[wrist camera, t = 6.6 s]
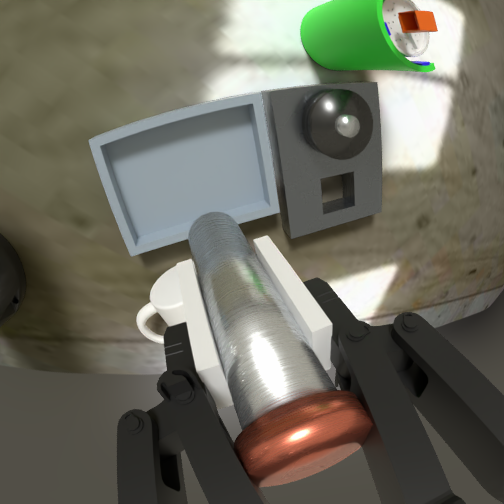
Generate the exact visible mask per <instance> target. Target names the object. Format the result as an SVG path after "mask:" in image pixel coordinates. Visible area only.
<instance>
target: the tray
mask: <svg viewBox="0 0 504 504" xmlns="http://www.w3.org/2000/svg"><path fill="white" fill-rule="evenodd" d="M88 141H89V144H90V147H91V151H92V154H93V157H94V160H95V163H96V166H97V169H98V172H99V175H100V178H101V181H102V184H103V187H104V189H105V192H106V195H107V198H108V200H109V203H110V206H111V209H112V211H113V214H114V216H115V219H116V221H117V224H118V226H119V229H120V231H121V234H122V236H123V239H124V241H125V244H126V246H127V248H128V251H129V253H130V255H131V256H134V255H137V254H141V253H144V252H147V251H150V250H153V249H157V248H160V247H163V246H166V245H170V244H173V243H176V242H179V241H183V240H186V239H188V234H189V230H190V227H191V225H192V224H193V222H194V221H195V220H196V219H197V218H199V217H200V216H202V215H203V214H206V213H209V212H223V213H226V214H228V215H230V216H231V217H232V218H233V219H234V220H235V221H236V223H237V224H240V223H244V222H247V221H251V220H254V219H258V218H261V217H265V216H269V215H272V214H276V213H279V212H280V210H279V203H278V196H277V189H276V183H275V176H274V170H273V163H272V157H271V151H270V144H269V138H268V132H267V126H266V120H265V114H264V109H263V103H262V97H261V93H248V94H242V95H237V96H232V97H227V98H222V99H217V100H213V101H208V102H204V103H200V104H196V105H192V106H188V107H184V108H180V109H176V110H173V111H169V112H166V113H162V114H159V115H156V116H152V117H149V118H146V119H143V120H140V121H136V122H133V123H130V124H128V125H125V126H122V127H119V128H116V129H113V130H111V131H108V132H105V133H103V134H100V135H97V136H95V137H93V138H92V139H90V140H88Z"/></svg>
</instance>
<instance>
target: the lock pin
mask: <svg viewBox="0 0 504 504" xmlns="http://www.w3.org/2000/svg"><path fill="white" fill-rule="evenodd" d="M188 240H189V244H190V249H191V253H192V257H193V261H194V265H195V269H196V273H197V277H198V281H199V285H200V288H201V292H202V296H203V300H204V304H205V308H206V311H207V315H208V319H209V322H210V326H211V329H212V333H213V337H214V340H215V344H216V347H217V350H218V354H219V357H220V361H221V364H222V367H223V371H224V374H225V377H226V380H227V385H228V388H229V391H230V394H231V397H232V400H233V404H234V407H235V410H236V413H237V416H238V419H239V422H240V425H241V428H242V432H241V433H240V434H239V435H238V437H237V438H236V440H235V442H234V449H235V451H236V453H237V456H238V457H239V459H240V461H241V463H242V465H243V467H244V469H245V471H246V473H247V475H248V476H249V477H250V478H251V480H252V481H253V482H254V483H255V484H256V485H257V486H258V487H267V486H274V485H280V484H285V483H289V482H293V481H296V480H299V479H302V478H305V477H308V476H311V475H313V474H315V473H318V472H320V471H322V470H325V469H327V468H329V467H331V466H332V465H334V464H336V463H338V462H340V461H342V460H343V459H345V458H346V457H348V456H349V455H351V454H352V453H354V452H355V451H357V450H358V449H359V448H360V447H362V446H363V445H364V442H365V440H366V438H367V436H368V434H369V432H370V430H371V427H372V425H373V424H372V422H371V420H370V418H369V416H368V414H367V413H366V411H365V409H364V408H363V406H362V404H361V403H360V401H359V400H358V398H357V396H356V395H355V394H354V393H353V392H350V391H345V390H337V389H336V388H335V386H334V384H333V383H332V381H331V379H330V378H329V376H328V374H327V373H326V371H325V369H324V367H323V366H322V364H321V362H320V361H319V359H318V357H317V356H316V354H315V352H314V351H313V349H312V347H311V346H310V344H309V342H308V341H307V339H306V337H305V336H304V334H303V332H302V331H301V329H300V327H299V326H298V324H297V322H296V321H295V319H294V317H293V316H292V314H291V312H290V311H289V309H288V307H287V306H286V304H285V302H284V301H283V299H282V297H281V296H280V294H279V292H278V291H277V289H276V287H275V286H274V284H273V282H272V281H271V279H270V277H269V276H268V274H267V272H266V271H265V269H264V268H263V266H262V264H261V263H260V261H259V259H258V258H257V256H256V254H255V253H254V251H253V249H252V248H251V246H250V244H249V243H248V241H247V239H246V238H245V236H244V234H243V233H242V231H241V229H240V228H239V226H238V224H237V223H236V221H235V220H234V219H233V218H232V217H231V216H230V215H228V214H226V213H223V212H209V213H206V214H203V215H202V216H200V217H199V218H197V219H196V220H195V221H194V222H193V224H192V225H191V227H190V230H189V234H188Z"/></svg>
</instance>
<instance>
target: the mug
mask: <svg viewBox="0 0 504 504" xmlns="http://www.w3.org/2000/svg"><path fill="white" fill-rule="evenodd" d="M193 265H194V262H193ZM194 268H195V265H194ZM195 271H196V269H195ZM196 274H197V273H196ZM150 301H151V302H150V303H148V304H147V305H145V306H144V307H143V308H142V309H141V310H140V311H139V313H138V315H137V325H138V328H139V330H140V331H141V332H142V334H143V335H144V336H146V337H147V338H148V339H150V340H152V341H154V342H157V343H161V344H164V339H163V337H164V336H161V335H158V334H156V333H154V332H152V331H151V330H150V329H149V328H148V327H147V326H146V324H145V323H146V321H147V319H148V318H149V317H150V316H152V315H153V314H155V313H157V312H158V313H159V314H160V315H161V317H162V318H163V319H164V321H165V322H166V323H167V324H168V326H169V327H170V326H173V325H176V324H180V323H183V322H186V317H185V312H184V306H183V300H182V294H181V288H180V282H179V276H178V269H177V266H175V267H173V268H171V269H169V270H168V271H166V272H165V273H164V274H163V275H162V276H160V277H159V279H158V280H157V281H156V282H155V284H154V285H153V287H152V289H151V292H150Z"/></svg>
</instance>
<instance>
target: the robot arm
mask: <svg viewBox="0 0 504 504" xmlns="http://www.w3.org/2000/svg"><path fill="white" fill-rule="evenodd" d="M253 241H254V246H255V251H256V256H257V258H258V259H259V261H260V263H261V264H262V266H263V268H264V269H265V271H266V272H267V274H268V276H269V277H270V279H271V281H272V282H273V284H274V286H275V287H276V289H277V291H278V292H279V294H280V296H281V297H282V299H283V301H284V302H285V304H286V306H287V307H288V309H289V311H290V312H291V314H292V316H293V317H294V319H295V321H296V322H297V324H298V326H299V327H300V329H301V331H302V332H303V334H304V336H305V337H306V339H307V341H308V342H309V344H310V346H311V347H312V349H313V351H314V352H315V354H316V356H317V357H318V359H319V361H320V362H321V364H322V366H323V367H324V369H325V371H326V370H329V369H331V362H332V363H333V365H334V367H335V368H336V376H335V386H336V387H338V383H339V385H340V388H341V390H345V391H350V392H353V393H354V394H355V395H356V396H357V398H358V400H359V401H360V403H361V404H362V406H363V408H364V409H365V411H366V413H367V414H368V416H369V418H370V420H371V422H372V424H373V425H372V427H371V430H370V432H369V434H368V436H367V438H366V440H365V442H364V445H363V446H362V448H363V451H364V454H365V457H366V459H367V462H368V465H369V468H370V471H371V474H372V477H373V480H374V482H375V485H376V489H377V491H378V494H379V497H380V500H381V504H466V503H465V502H464V501H463V500H462V499H461V498H459V497H458V496H456V495H454V493H453V492H452V490H451V488H450V486H449V483H448V481H447V479H446V476H445V474H444V471H443V469H442V466H441V464H440V462H439V460H438V457H437V455H436V453H435V450H434V448H433V446H432V444H431V442H430V439H429V437H428V435H427V433H426V431H425V428H424V426H423V424H422V422H421V420H420V418H419V416H418V414H417V412H416V410H415V408H414V406H415V407H416V408H417V409H418V410H419V411H420V413H421V414H422V415H423V416H424V417H425V418H426V420H427V421H428V422H429V423H430V424H431V425H432V427H433V428H434V429H435V430H436V431H437V432H438V434H439V435H440V436H441V437H442V438H443V440H444V441H445V442H446V443H447V444H448V445H449V447H450V448H451V449H452V450H453V451H454V453H455V454H456V455H457V456H458V458H459V459H460V460H461V461H462V462H463V464H464V465H465V466H466V467H467V468H468V470H469V471H470V472H471V473H472V475H473V476H474V477H475V478H476V479H477V481H478V482H479V483H480V484H481V486H482V487H483V488H484V489H485V490H486V491H487V492H488V493H489V494H491V495H492V496H493V497H494V498H496V499H497V500H499V501H501V502H503V504H504V395H502V393H501V392H500V391H499V390H498V389H497V388H496V387H495V386H494V385H493V384H492V383H491V382H490V381H489V380H488V379H487V378H486V377H485V376H484V375H483V374H482V373H481V372H480V371H479V370H478V369H477V368H476V367H475V366H474V365H473V364H472V363H471V362H470V361H469V360H468V359H466V357H465V356H463V355H462V354H461V353H460V352H459V351H458V350H457V349H456V348H455V347H454V346H453V345H452V344H451V343H450V342H449V341H448V340H446V339H445V338H444V337H443V336H442V335H441V334H440V333H439V332H438V331H437V330H436V329H435V328H433V327H432V326H431V325H430V324H429V323H428V322H427V321H426V320H425V319H423V318H422V317H421V316H419V315H418V314H416V313H412V312H404V313H402V314H399V315H398V316H397V317H396V318H395V320H394V323H393V324H388V325H382V326H370V325H369V324H367V323H365V322H363V321H358V320H357V319H356V318H355V316H354V315H353V314H352V313H351V311H350V310H349V309H348V308H347V306H346V305H345V304H344V303H343V302H342V300H341V299H340V298H338V295H337V294H336V293H335V292H334V291H333V289H332V288H331V287H330V286H329V284H328V283H327V282H325V281H323V280H321V279H319V278H314V279H311V280H308V281H306V282H303V283H302V281H301V280H300V278H299V277H298V276H297V274H296V273H295V272H294V270H293V269H292V267H291V266H290V265H289V263H288V262H287V261H286V259H285V258H284V257H283V255H282V254H281V253H280V251H279V250H278V249H277V247H276V246H275V244H274V243H273V242H272V240H271V239H270V238H269V236H268V235H267V236H264V237H261V238H257V239H254V240H253ZM177 269H178V276H179V282H180V288H181V294H182V300H183V306H184V312H185V317H186V322H183V323H180V324H176V325H173V326H170V327H167V329H166V331H165V334H164V337H163V339H164V347H165V355H166V365H167V371H166V372H164V373H163V374H162V375H161V377H160V378H159V380H158V383H157V390H158V392H159V393H160V394H161V396H162V397H163V398H164V401H162V403H160V404H159V405H157V406H156V407H154V408H152V409H150V410H149V411H147V412H144V411H142V410H137V409H134V410H130V411H128V412H126V413H125V414H124V415H122V417H121V419H120V420H119V423H118V429H117V430H118V431H117V484H118V504H187V497H186V490H185V484H184V477H183V468H182V460H181V451H183V450H184V449H185V451H186V454H187V456H188V458H189V461H190V463H191V465H192V468H193V470H194V472H195V474H196V477H197V479H198V481H199V483H200V486H201V487H202V490H203V492H204V494H205V496H206V498H207V500H208V502H209V504H269V502H268V501H267V499H266V498H265V496H264V494H263V493H262V491H261V489H260V488H259V487H258V486H257V485H256V484H255V483H254V482H253V481H252V480H251V478H250V477H249V476H248V475H247V473H246V471H245V469H244V467H243V465H242V463H241V461H240V459H239V457H238V456H237V453H236V451H235V449H234V442H233V440H232V439H231V437H230V435H229V433H228V431H227V429H226V427H225V425H224V423H223V421H222V419H221V418H220V416H219V414H218V411H217V408H218V409H221V408H224V407H227V406H231V405H234V404H233V400H232V397H231V394H230V391H229V388H228V385H227V380H226V377H225V374H224V371H223V367H222V364H221V361H220V357H219V354H218V350H217V347H216V344H215V340H214V337H213V333H212V329H211V326H210V322H209V319H208V315H207V311H206V308H205V304H204V300H203V296H202V292H201V288H200V285H199V281H198V277H197V274H196V271H195V268H194V265H193V262H192V259H189V260H186V261H183V262H180V263H177ZM25 290H26V279H25V274H24V270H23V267H22V264H21V262H20V259H19V257H18V255H17V254H16V252H15V250H14V249H13V247H12V246H11V245H10V243H9V242H8V241H7V240H6V239H5V238H4V237H3V236H2V235H1V234H0V327H1V326H2V325H3V324H4V323H5V322H6V321H7V320H9V319H10V318H11V317H12V316H13V315H14V314H15V313H16V312H17V310H18V308H19V306H20V304H21V302H22V300H23V298H24V295H25ZM412 403H413V404H414V406H413V404H412ZM216 406H217V407H216Z"/></svg>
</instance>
